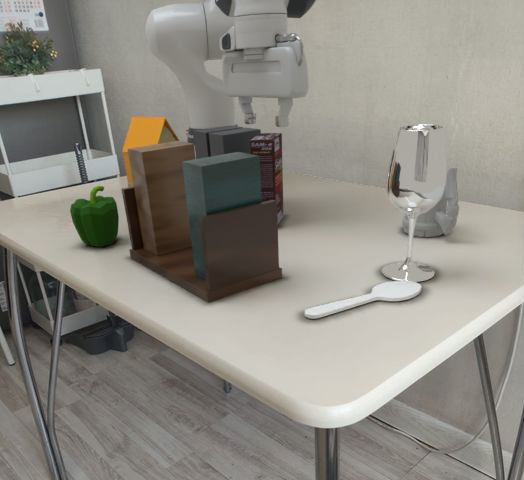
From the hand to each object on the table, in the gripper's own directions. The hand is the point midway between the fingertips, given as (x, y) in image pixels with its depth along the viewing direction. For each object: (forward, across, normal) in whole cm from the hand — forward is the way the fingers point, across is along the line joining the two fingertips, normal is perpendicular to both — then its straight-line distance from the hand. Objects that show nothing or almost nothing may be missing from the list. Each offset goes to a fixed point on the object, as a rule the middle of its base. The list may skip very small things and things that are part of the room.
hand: (265, 125), depth 96 cm
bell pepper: (+18, +12, +30) cm, 37 cm away
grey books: (+18, +14, 0) cm, 22 cm away
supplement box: (+18, 0, 0) cm, 18 cm away
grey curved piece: (+18, -27, -15) cm, 36 cm away
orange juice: (+18, +14, +16) cm, 28 cm away
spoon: (+18, -38, +14) cm, 45 cm away
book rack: (+18, -12, +23) cm, 31 cm away
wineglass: (+18, -36, +2) cm, 40 cm away
